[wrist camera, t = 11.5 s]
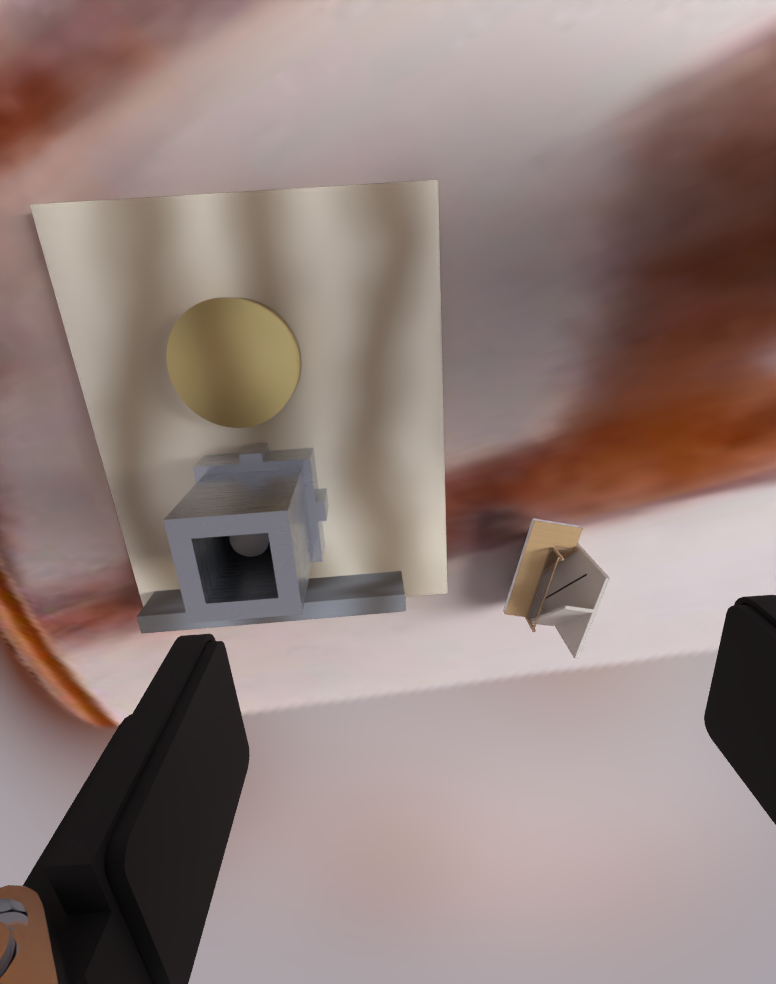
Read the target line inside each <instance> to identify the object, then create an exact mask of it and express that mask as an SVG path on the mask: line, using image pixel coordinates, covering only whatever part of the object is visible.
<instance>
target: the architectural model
mask: <svg viewBox="0 0 776 984" xmlns="http://www.w3.org/2000/svg"><path fill="white" fill-rule="evenodd" d="M582 529H583V528H582V527H581V526H579V525H573V524H566V523H560V522H554V521H548V520H541V519H535V518H533V519H532V522H531V525H530V528H529V531H528V534H527V538H526V541H525V544H524V547H523V550H522V553H521V556H520V560H519V563H518V566H517V569H516V572H515V575H514V578H513V582H512V585H511V588H510V591H509V594H508V597H507V600H506V604H505V607H504V610H503V611H504V614H507V615H515V616H522V617H525V618H526V620H527V622H528V624H529V626H530V628H531V629H532V631H533V632H535V627H536V624H540V625H548V626H554V625H555V627H556V629H557V630H558V632H559V634H560V635H561V637H562V639H563V640H564V642H565V644H566V645H567V647H568V649H569V650H570V652H571V654H572V655H573V657H574V658H575V659H578V657H579V655H580V652H581V650H582V647H583V645H584V642H585V640H586V637H587V634H588V632H589V629H590V627H591V624H592V622H593V619H594V617H595V614H596V612H597V609H598V607H599V604H600V602H601V599H602V596H603V594H604V591H605V589H606V586H607V584H608V581H609V579H610V578H609V577H608V576H607V575H606V574H605V572H604V571H603V570H602V569H601V568H600V567H599V566H598V565H597V564H596V562H595V561H594V560H593V559H592V558H591V557H590V556H589V555H588V554H587V553H586V551H585V550H584V549H583V548H582V547H581V546H580V545H579V544H578V540H579V538H580V535H581V532H582ZM536 595H537V596H536ZM532 623H533V625H534V627H533V625H532Z"/></svg>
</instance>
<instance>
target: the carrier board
mask: <svg viewBox="0 0 776 984" xmlns="http://www.w3.org/2000/svg"><path fill="white" fill-rule="evenodd" d="M30 207H31V211H32V215H33V218H34V222H35V225H36V229H37V232H38V236H39V239H40V243H41V246H42V250H43V254H44V257H45V261H46V264H47V268H48V271H49V275H50V278H51V282H52V285H53V289H54V293H55V296H56V300H57V303H58V307H59V310H60V314H61V317H62V321H63V324H64V328H65V332H66V335H67V339H68V342H69V346H70V349H71V353H72V356H73V360H74V363H75V367H76V371H77V374H78V378H79V381H80V385H81V388H82V392H83V395H84V399H85V402H86V406H87V410H88V413H89V417H90V420H91V424H92V427H93V431H94V434H95V438H96V441H97V445H98V449H99V452H100V456H101V459H102V463H103V466H104V470H105V473H106V477H107V480H108V484H109V487H110V491H111V495H112V498H113V502H114V505H115V509H116V512H117V516H118V519H119V523H120V526H121V530H122V534H123V537H124V541H125V544H126V548H127V551H128V555H129V558H130V562H131V565H132V569H133V573H134V576H135V580H136V583H137V587H138V590H139V594H140V597H141V601H142V604H143V608H142V610H141V611H140V613H139V614H138V616H137V620H138V623H139V626H140V630H141V633H153V632H165V631H177V630H189V629H201V628H213V627H224V626H236V625H248V624H260V623H272V622H284V621H296V620H308V619H319V618H331V617H343V616H355V615H367V614H379V613H391V612H402V611H406V604H405V597H409V596H421V595H433V594H445V593H447V555H446V511H445V467H444V422H443V378H442V334H441V290H440V246H439V202H438V180H427V181H410V182H394V183H377V184H361V185H344V186H328V187H311V188H295V189H278V190H262V191H245V192H229V193H212V194H196V195H179V196H163V197H146V198H130V199H113V200H97V201H80V202H64V203H47V204H31V205H30ZM255 443H268V445H269V451H273V450H287V449H301V448H314V454H315V463H316V471H317V480H318V488H319V489H322V488H327V495H328V504H329V508H328V515H327V521H322V522H323V531H324V539H325V549H324V556H323V561H322V562H312V565H311V570H310V576H309V581H308V587H307V592H306V598H305V603H304V609H303V614H299V615H286V616H274V617H262V618H250V619H237V620H225V621H213V622H200V623H188V619H187V615H186V611H185V606H184V602H183V598H182V594H181V590H180V586H179V582H178V578H177V574H176V569H175V565H174V561H173V557H172V553H171V549H170V545H169V541H168V537H167V532H166V528H165V524H164V519H165V518H166V516H167V515H168V514H169V513H170V512H171V511H172V510H173V509H174V508H175V506H176V505H177V504H178V503H179V502H180V501H181V500H182V499H183V498H184V496H185V495H186V494H187V493H188V492H189V491H190V490H191V489H192V487H193V486H194V485H195V484H196V481H195V476H194V472H193V466H194V465H195V464H196V463H197V462H198V461H199V460H200V459H201V458H202V457H203V456H204V455H218V454H232V453H241V452H242V450H243V449H244V448H245V447H246V445H247V444H255ZM230 543H231V546H232V547H233V549H234V550H235V551H236V552H238V553H239V554H241V555H244V556H249V557H253V556H257V555H260V554H262V553H263V552H264V551H265V550H266V548H267V547H268V544H269V536H268V533H259V534H246V535H233V536H230Z"/></svg>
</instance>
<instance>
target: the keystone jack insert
mask: <svg viewBox="0 0 776 984" xmlns="http://www.w3.org/2000/svg"><path fill="white" fill-rule="evenodd" d="M193 472H194V476H195V481H196V484H195V485H194V486H193V487H192V489H191V490H190V491H189V492H188V493H187V494H186V495H185V496H184V498H183V499H182V500H181V501H180V502H179V503H178V504H177V505H176V506H175V508H174V509H173V510H172V511H171V512H170V513H169V514H168V515H167V516H166V518H165V519H164V524H165V528H166V532H167V537H168V541H169V545H170V549H171V553H172V557H173V561H174V565H175V569H176V574H177V578H178V582H179V586H180V590H181V594H182V598H183V602H184V606H185V611H186V615H187V619H188V623H200V622H213V621H225V620H237V619H250V618H262V617H274V616H286V615H299V614H303V609H304V603H305V598H306V592H307V587H308V581H309V576H310V570H311V565H312V562H322V561H323V556H324V549H325V539H324V531H323V522H322V521H327V515H328V508H329V504H328V495H327V488H322V489H319V488H318V480H317V471H316V463H315V454H314V448H301V449H287V450H273V451H269V445H268V443H255V444H247V445H246V447H245V448H244V449H243V450H242V452H241V453H232V454H218V455H204V456H203V457H202V458H201V459H200V460H199V461H198V462H197V463H196V464H195V465H194V466H193ZM259 533H268V536H269V544H268V547H267V548H266V550H265V551H264V552H263V553H262V554H260V555H257V556H253V557H249V556H244V555H241V554H239V553H238V552H236V551H235V550H234V549H233V547H232V546H231V543H230V536H233V535H246V534H259Z"/></svg>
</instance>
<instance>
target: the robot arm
mask: <svg viewBox="0 0 776 984" xmlns="http://www.w3.org/2000/svg"><path fill="white" fill-rule="evenodd" d="M704 720H705V726H706V729H707V732H708V733H709V736H710V737H711V739H712V740H713V742H714V743H715V744H716V746H717V747H718V748H719V749H720V751H721V752H722V754H723V755H724V756H725V757H726V759H727V760H728V762H729V763H730V764H731V766H732V767H733V768H734V770H735V771H736V772H737V774H738V775H739V776H740V778H741V779H742V780H743V782H744V783H745V784H746V786H747V787H748V788H749V790H750V791H751V792H752V794H753V795H754V796H755V798H756V799H757V800H758V802H759V803H760V804H761V806H762V807H763V809H764V810H765V811H766V812H767V814H768V815H769V816H770V818H771V819H772V821H773V822H774V823H775V824H776V595H764V596H750V597H742V598H739V599H738V600H737V601H736V602H735V604H734V606H731V607H730V608H729V609H728V611H727V613H726V618H725V622H724V627H723V632H722V636H721V641H720V646H719V650H718V655H717V660H716V664H715V669H714V673H713V678H712V683H711V687H710V692H709V697H708V701H707V706H706V711H705V716H704ZM248 764H249V745H248V741H247V737H246V732H245V728H244V724H243V720H242V716H241V711H240V707H239V703H238V699H237V694H236V690H235V686H234V682H233V677H232V673H231V669H230V665H229V660H228V656H227V652H226V648H225V645H224V643H223V642H222V641H215V638H214V637H213V635H211V634H201V635H187V636H180V637H178V638H177V639H176V641H175V642H174V644H173V646H172V647H171V649H170V651H169V652H168V654H167V656H166V658H165V659H164V661H163V663H162V664H161V666H160V668H159V669H158V671H157V673H156V675H155V676H154V678H153V680H152V681H151V683H150V685H149V687H148V688H147V690H146V692H145V693H144V695H143V697H142V698H141V700H140V702H139V704H138V705H137V707H136V709H135V710H134V712H133V714H131V715H129V716H128V717H126V718H125V719H124V720H123V721H122V723H121V724H120V725H119V727H118V728H117V730H116V732H115V733H114V735H113V737H112V739H111V740H110V742H109V743H108V745H107V747H106V748H105V750H104V752H103V753H102V755H101V757H100V759H99V760H98V762H97V763H96V765H95V767H94V768H93V770H92V772H91V773H90V776H89V777H88V778H87V780H86V782H85V783H84V785H83V787H82V788H81V790H80V792H79V793H78V795H77V797H76V798H75V800H74V802H73V803H72V805H71V807H70V808H69V810H68V812H67V813H66V815H65V816H64V818H63V820H62V821H61V823H60V825H59V826H58V828H57V830H56V831H55V833H54V835H53V837H52V838H51V840H50V841H49V843H48V845H47V846H46V848H45V850H44V851H43V853H42V855H41V856H40V858H39V860H38V861H37V863H36V865H35V866H34V868H33V870H32V871H31V873H30V875H29V876H28V878H27V880H26V881H25V883H24V885H23V886H13V885H11V886H10V885H8V886H4V887H1V888H0V984H188V982H189V979H190V975H191V972H192V968H193V965H194V960H195V957H196V953H197V950H198V946H199V943H200V939H201V936H202V932H203V928H204V925H205V921H206V917H207V914H208V910H209V907H210V903H211V899H212V896H213V892H214V888H215V885H216V881H217V878H218V874H219V870H220V867H221V863H222V860H223V856H224V852H225V848H226V845H227V842H228V838H229V834H230V831H231V827H232V824H233V820H234V816H235V813H236V809H237V806H238V802H239V798H240V794H241V791H242V787H243V784H244V780H245V776H246V773H247V769H248Z"/></svg>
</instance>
